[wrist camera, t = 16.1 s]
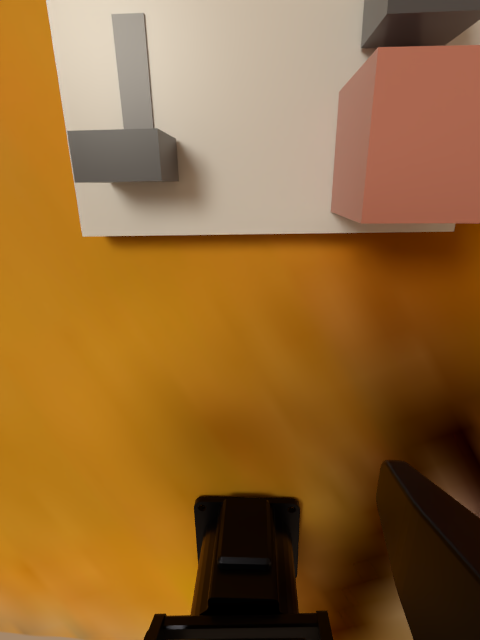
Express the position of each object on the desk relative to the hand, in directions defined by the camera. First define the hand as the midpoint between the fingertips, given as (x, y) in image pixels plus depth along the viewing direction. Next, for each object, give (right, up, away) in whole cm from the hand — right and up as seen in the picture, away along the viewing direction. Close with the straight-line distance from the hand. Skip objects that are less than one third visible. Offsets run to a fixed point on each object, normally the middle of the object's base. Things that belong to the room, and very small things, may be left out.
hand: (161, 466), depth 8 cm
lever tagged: (+8, +14, +6) cm, 17 cm away
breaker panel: (+3, +13, +9) cm, 15 cm away
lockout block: (+8, +10, +7) cm, 14 cm away
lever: (-2, +9, +8) cm, 12 cm away
